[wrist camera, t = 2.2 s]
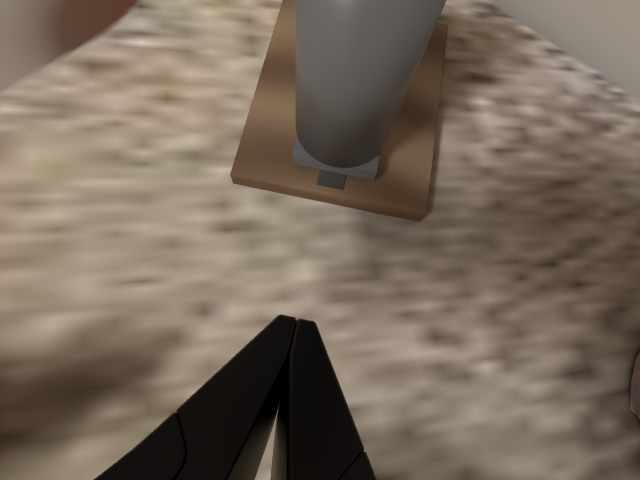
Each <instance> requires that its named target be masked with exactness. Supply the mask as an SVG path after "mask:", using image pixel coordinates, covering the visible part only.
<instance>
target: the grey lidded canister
mask: <svg viewBox="0 0 640 480" xmlns="http://www.w3.org/2000/svg"><path fill="white" fill-rule="evenodd" d="M445 2H446V0H295V83H296V133H297V138H296V142H295V146H294V150H293V154H292V164H297V165H301V166H306V167H311V168H316V169H321V170H326V171H330V172H335V173H340V174H345V175H350V176H355V177H359V178H364V179H369V180H374V178H375V176H376V173H377V168H378V162H379V156H380V152H381V151H382V149H383V148H384V146H385V144H386V142H387V139H388V137H389V134H390V132H391V130H392V127H393V125H394V123H395V120H396V118H397V116H398V113H399V111H400V108H401V106H402V104H403V101H404V99H405V97H406V94H407V92H408V90H409V87H410V85H411V82H412V80H413V78H414V75H415V73H416V71H417V68H418V66H419V63H420V61H421V59H422V56H423V54H424V52H425V49H426V47H427V45H428V42H429V40H430V37H431V35H432V33H433V30H434V28H435V26H436V23H437V21H438V19H439V16H440V14H441V11H442V9H443V7H444V4H445Z"/></svg>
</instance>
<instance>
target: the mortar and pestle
mask: <svg viewBox="0 0 640 480" xmlns="http://www.w3.org/2000/svg"><path fill="white" fill-rule="evenodd" d="M630 410H631V411H633V412H634V413H635V414H636V416H637V417H638V419H639V421H640V352H639V354H638V355H637V358H636V360H635V365H634V370H633V375H632V380H631V394H630Z"/></svg>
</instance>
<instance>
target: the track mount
mask: <svg viewBox="0 0 640 480" xmlns="http://www.w3.org/2000/svg"><path fill="white" fill-rule="evenodd" d="M447 32H448V25H444V24H439V23H436V26H435V28H434V30H433V33H432V35H431V37H430V40H429V42H428V45H427V47H426V49H425V52H424V54H423V56H422V59H421V61H420V63H419V66H418V68H417V71H416V73H415V75H414V78H413V80H412V82H411V85H410V87H409V90H408V92H407V94H406V97H405V99H404V101H403V104H402V106H401V108H400V111H399V113H398V116H397V118H396V120H395V123H394V125H393V127H392V130H391V132H390V134H389V137H388V139H387V142H386V144H385V146H384V148H383V149H382V151H381V152H380V156H379V162H378V168H377V173H376V176H375V178H374V180H369V179H364V178H359V177H355V176H350V175H345V174H340V173H335V172H330V171H326V170H321V169H316V168H311V167H306V166H301V165H297V164H292V154H293V150H294V146H295V142H296V138H297V133H296V83H295V0H283V2H282V5H281V8H280V11H279V15H278V18H277V21H276V25H275V28H274V31H273V35H272V38H271V41H270V45H269V48H268V51H267V54H266V58H265V61H264V64H263V68H262V71H261V74H260V78H259V81H258V84H257V88H256V91H255V94H254V98H253V101H252V104H251V107H250V111H249V114H248V117H247V121H246V124H245V127H244V131H243V134H242V137H241V141H240V144H239V147H238V151H237V154H236V157H235V160H234V164H233V167H232V170H231V174H230V175H231V178H232V181H233V183H234V184H239V185H244V186H248V187H253V188H258V189H263V190H268V191H273V192H277V193H282V194H287V195H292V196H297V197H302V198H306V199H311V200H316V201H321V202H326V203H331V204H335V205H340V206H345V207H350V208H355V209H360V210H364V211H369V212H374V213H379V214H384V215H389V216H393V217H398V218H403V219H408V220H413V221H418V222H420V221H421V220H422V219H423V218H424V217H425V216H426V211H427V202H428V194H429V185H430V177H431V168H432V160H433V151H434V142H435V134H436V125H437V117H438V108H439V100H440V91H441V83H442V74H443V66H444V57H445V49H446V40H447Z"/></svg>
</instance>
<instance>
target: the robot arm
mask: <svg viewBox="0 0 640 480" xmlns="http://www.w3.org/2000/svg"><path fill="white" fill-rule="evenodd" d="M279 402H280V403H279ZM278 407H279V408H278ZM277 411H278V413H277ZM276 415H277V419H276V427H275V438H274V448H273V458H272V469H271V479H270V480H377V479H376V477H375V474H374V472H373V469H372V467H371V464H370V461H369V459H368V456H367V454H366V452H363V451H364V446H363V444H362V441H361V439H360V436H359V434H358V431H357V428H356V426H355V423H354V421H353V418H352V415H351V413H350V410H349V408H348V405H347V403H346V400H345V397H344V395H343V392H342V390H341V387H340V384H339V382H338V379H337V377H336V374H335V372H334V369H333V366H332V364H331V361H330V359H329V356H328V353H327V351H326V348H325V346H324V343H323V341H322V338H321V335H320V333H319V330H318V328H317V325H316V323H315V322H314V321H310V320H305V319H298V320H296V318H295V317H290V316H285V315H278V316H277V317H276V318H275V319H274V320H273V321H272V322H271V323H270V324H269V325H267V326H266V327H265V328H264V329H263V330H262V331H261V332H260V333H259V334H258V335H257V336H256V337H254V338H253V339H252V340H251V341H250V342H249V343H248V344H247V345H246V346H245V347H244V348H243V349H242V350H240V351H239V352H238V353H237V354H236V355H235V356H234V357H233V358H232V359H231V360H230V361H229V362H228V363H226V364H225V365H224V366H223V367H222V368H221V369H220V370H219V371H218V372H217V373H216V374H215V375H214V376H212V377H211V378H210V379H209V380H208V381H207V382H206V383H205V384H204V385H203V386H202V387H201V388H200V389H198V390H197V391H196V392H195V393H194V394H193V395H192V396H191V397H190V398H189V399H188V400H187V401H186V402H184V403H183V404H182V405H181V406H180V407H179V408H178V409H177V411H176V413H175V412H174V413H172V414H171V415H170V416H169V417H168V418H167V419H166V420H165V421H164V422H163V423H162V424H161V425H159V426H158V427H157V428H156V429H155V430H154V431H153V432H152V433H150V434H149V435H148V436H147V437H146V438H145V439H144V440H142V441H141V442H140V443H139V444H138V445H137V446H136V447H135V448H133V449H132V450H131V451H130V452H128V453H127V454H126V455H125V456H123V457H122V458H121V459H120V460H118V461H117V462H116V463H114V464H113V465H112V466H111V467H109V468H108V469H107V470H106V471H104V472H103V473H102V474H101V475H99V476H98V477H97V478H95V479H94V480H254V479H255V477H256V474H257V471H258V468H259V465H260V462H261V459H262V456H263V454H264V451H265V448H266V445H267V442H268V439H269V436H270V434H271V431H272V428H273V425H274V422H275V418H276Z"/></svg>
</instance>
